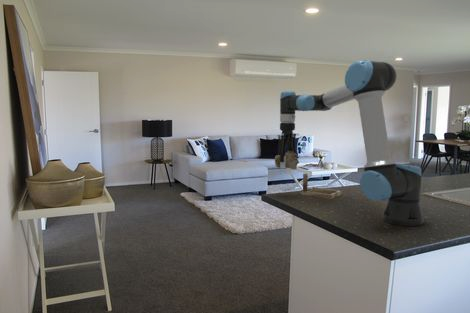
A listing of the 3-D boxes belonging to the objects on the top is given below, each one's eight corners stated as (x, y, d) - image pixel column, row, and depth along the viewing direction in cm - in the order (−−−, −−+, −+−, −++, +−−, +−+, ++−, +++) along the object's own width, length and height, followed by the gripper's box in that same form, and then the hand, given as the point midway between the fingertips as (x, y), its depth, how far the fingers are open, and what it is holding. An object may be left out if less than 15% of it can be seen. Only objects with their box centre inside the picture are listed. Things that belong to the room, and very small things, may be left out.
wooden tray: (330, 199, 189) (331, 177, 187) (300, 194, 199) (300, 174, 198) (341, 194, 199) (342, 174, 197) (312, 190, 209) (312, 170, 208)
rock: (303, 166, 191) (297, 147, 191) (296, 169, 187) (290, 150, 186) (285, 171, 200) (278, 153, 200) (278, 174, 195) (271, 156, 195)
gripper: (283, 123, 181) (282, 170, 184) (303, 122, 196) (302, 165, 199) (270, 122, 185) (270, 169, 188) (290, 121, 200) (290, 164, 204)
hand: (286, 167), depth 194 cm, fingers closed on rock, 7 cm apart
